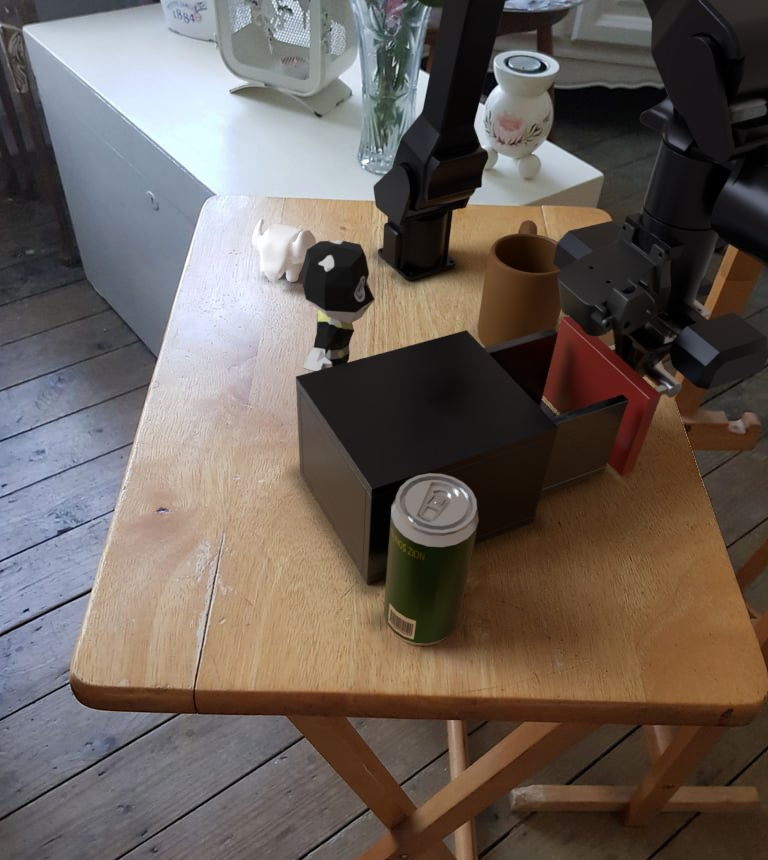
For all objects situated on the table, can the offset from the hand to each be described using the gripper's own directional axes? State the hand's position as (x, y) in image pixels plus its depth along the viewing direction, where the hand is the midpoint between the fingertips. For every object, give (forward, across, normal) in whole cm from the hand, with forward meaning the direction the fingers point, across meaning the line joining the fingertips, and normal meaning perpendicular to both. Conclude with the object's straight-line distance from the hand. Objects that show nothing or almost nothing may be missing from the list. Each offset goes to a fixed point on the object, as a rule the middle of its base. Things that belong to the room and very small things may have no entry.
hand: (625, 385), depth 69 cm
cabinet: (+5, 0, -20) cm, 20 cm away
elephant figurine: (+5, -34, -17) cm, 39 cm away
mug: (+5, -17, +1) cm, 18 cm away
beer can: (+5, +10, -25) cm, 28 cm away
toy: (+5, -14, -20) cm, 25 cm away
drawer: (+4, 0, -7) cm, 8 cm away
